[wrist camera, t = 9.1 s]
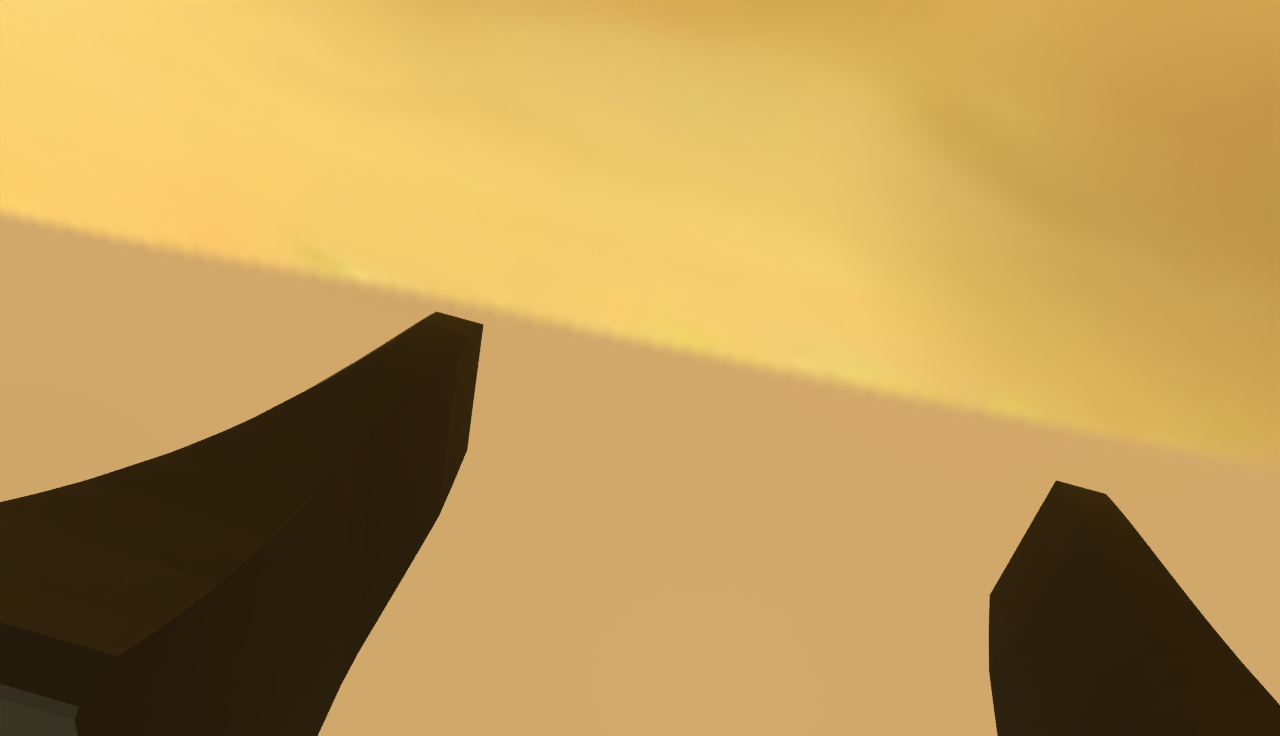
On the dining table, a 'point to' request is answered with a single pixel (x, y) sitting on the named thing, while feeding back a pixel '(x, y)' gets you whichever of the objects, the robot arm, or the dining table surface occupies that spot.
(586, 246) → the dining table surface
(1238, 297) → the dining table surface
